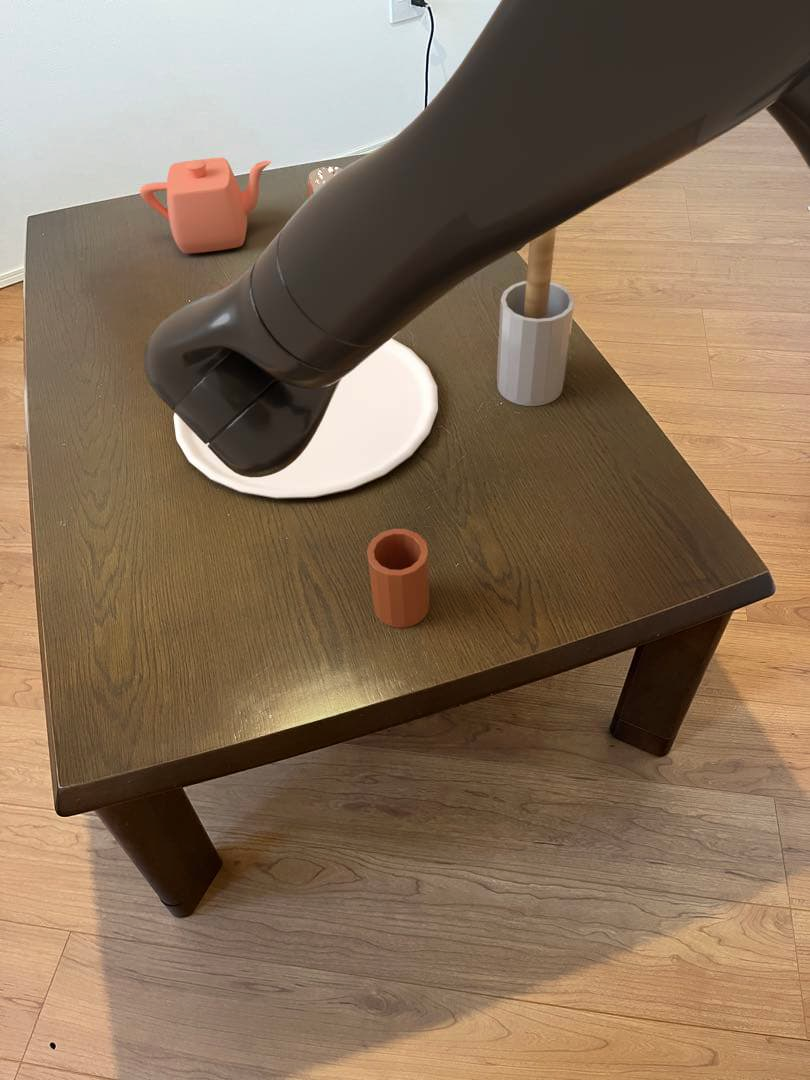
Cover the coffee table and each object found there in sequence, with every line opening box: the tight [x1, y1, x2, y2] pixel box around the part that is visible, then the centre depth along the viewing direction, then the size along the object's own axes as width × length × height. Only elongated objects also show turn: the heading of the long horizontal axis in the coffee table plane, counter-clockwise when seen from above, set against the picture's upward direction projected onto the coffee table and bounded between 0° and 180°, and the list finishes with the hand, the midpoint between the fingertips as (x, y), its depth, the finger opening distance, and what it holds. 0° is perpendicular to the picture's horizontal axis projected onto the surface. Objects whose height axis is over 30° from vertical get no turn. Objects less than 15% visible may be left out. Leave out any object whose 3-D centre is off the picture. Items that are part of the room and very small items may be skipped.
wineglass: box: [306, 165, 343, 200], centre depth 107 cm, size 6×6×12 cm
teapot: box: [139, 157, 272, 254], centre depth 114 cm, size 12×18×10 cm, turn 100°
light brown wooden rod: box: [524, 227, 557, 319], centre depth 85 cm, size 3×3×20 cm
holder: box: [366, 528, 431, 629], centre depth 71 cm, size 5×5×8 cm
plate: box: [173, 337, 439, 499], centre depth 92 cm, size 29×29×1 cm
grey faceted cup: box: [496, 280, 576, 407], centre depth 89 cm, size 7×7×11 cm
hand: (500, 154), depth 65 cm, fingers open, 8 cm apart
